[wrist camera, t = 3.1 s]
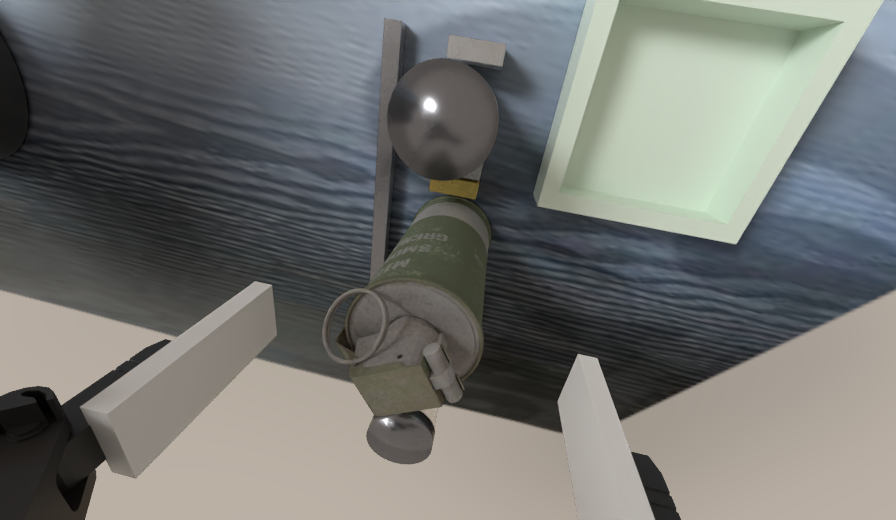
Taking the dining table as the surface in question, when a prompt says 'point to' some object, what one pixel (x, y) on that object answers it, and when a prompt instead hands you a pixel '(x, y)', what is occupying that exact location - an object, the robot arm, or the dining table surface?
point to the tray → (690, 107)
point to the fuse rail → (428, 169)
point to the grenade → (419, 312)
